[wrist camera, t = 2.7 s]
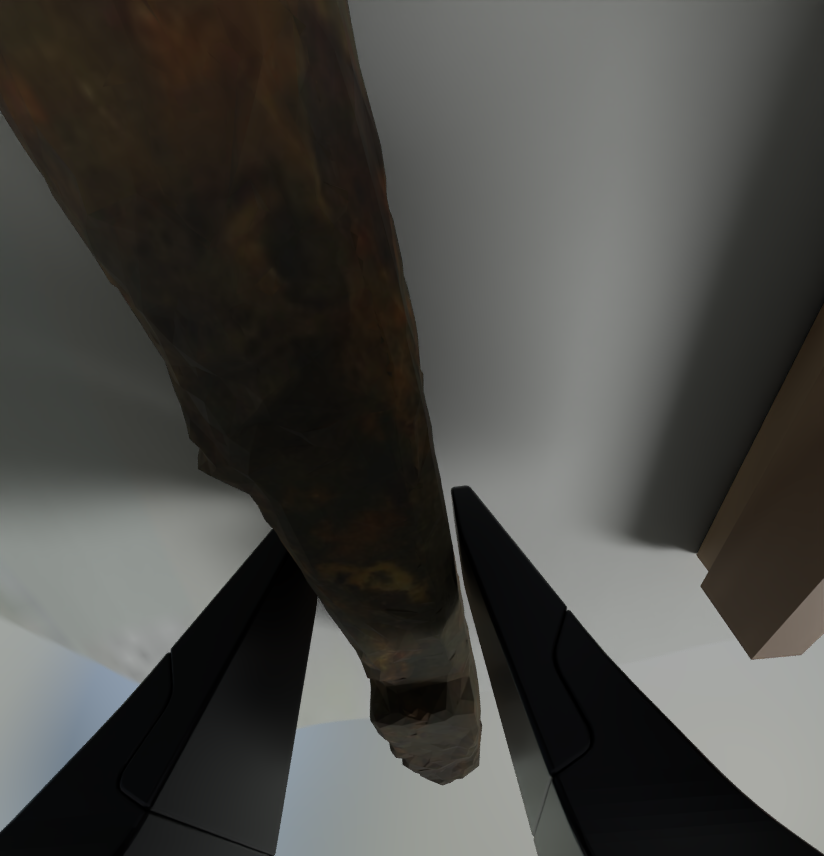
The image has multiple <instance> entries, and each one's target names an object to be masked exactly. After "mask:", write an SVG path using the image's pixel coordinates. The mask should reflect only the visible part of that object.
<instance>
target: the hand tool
mask: <svg viewBox="0 0 824 856" xmlns="http://www.w3.org/2000/svg"><path fill="white" fill-rule="evenodd" d="M0 111H1V112H2V114H3V115H4V117H5V119H6V120H7V122H8V124H9V125H10V127H11V128H12V130H13V132H14V133H15V135H16V137H17V138H18V140H19V141H20V143H21V145H22V146H23V148H24V149H25V151H26V152H27V154H28V155H29V157H30V158H31V159H32V161H33V162H34V164H35V165H36V167H37V168H38V169H39V171H40V172H41V174H42V175H43V177H44V178H45V180H46V182H47V184H48V186H49V188H50V191H51V193H52V195H53V196H54V198H55V199H56V201H57V202H58V204H59V205H60V207H61V208H62V210H63V211H64V213H65V214H66V216H67V217H68V219H69V220H70V222H71V223H72V225H73V226H74V227H75V229H76V230H77V232H78V233H79V235H80V236H81V238H82V239H83V241H84V242H85V244H86V245H87V247H88V248H89V250H90V251H91V252H92V254H93V255H94V257H95V258H96V260H97V262H98V263H99V265H100V267H101V268H102V270H103V271H104V273H105V275H106V276H107V278H108V280H109V281H110V283H111V284H112V285H114V286H115V287H117V288H118V289H119V291H120V292H121V294H122V295H123V297H124V298H125V300H126V301H127V303H128V305H129V306H130V308H131V309H132V311H133V312H134V314H135V315H136V317H137V318H138V320H139V321H140V323H141V325H142V326H143V328H144V329H145V331H146V333H147V334H148V336H149V338H150V339H151V341H152V342H153V344H154V346H155V347H156V349H157V350H158V352H159V353H160V355H161V356H162V358H163V359H164V361H165V363H166V366H167V369H168V372H169V375H170V378H171V381H172V384H173V387H174V390H175V393H176V395H177V397H178V400H179V402H180V404H181V408H182V411H183V414H184V418H185V421H186V425H187V429H188V434H189V438H190V439H191V440H192V441H193V442H194V443H195V444H196V445H197V446H198V447H199V454H198V469H199V470H201V471H203V472H204V473H206V474H208V475H210V476H212V477H214V478H216V479H219V480H221V481H223V482H225V483H227V484H229V485H231V486H233V487H235V488H238V489H240V490H242V491H244V492H246V493H248V494H250V496H251V497H252V498H253V500H254V501H255V502H256V504H257V505H258V507H259V509H260V511H261V513H262V515H263V517H264V519H265V520H266V522H267V523H268V524H269V525H270V526H271V527H272V528H273V529H274V531H275V532H276V533H277V535H278V537H279V538H280V540H281V542H282V543H283V545H284V546H285V548H286V549H287V551H288V552H289V553H290V555H291V556H292V558H293V559H294V561H295V562H296V563H297V565H298V566H299V568H300V569H301V571H302V573H303V575H304V576H305V578H306V580H307V582H308V584H309V585H310V586H311V588H312V589H313V590H314V592H315V593H316V594H317V596H318V597H319V599H320V600H321V602H322V604H323V605H324V607H325V608H326V610H327V612H328V613H329V615H330V616H331V617H332V619H333V620H334V621H335V623H336V624H337V625H338V627H339V628H340V629H341V631H342V632H343V634H344V635H345V637H346V638H347V639H348V641H349V642H350V644H351V645H352V646H353V647H354V649H355V650H356V652H357V654H358V656H359V658H360V660H361V662H362V665H363V667H364V670H365V673H366V675H367V678H370V684H371V699H370V720H371V722H372V723H373V725H374V727H375V728H376V730H377V732H378V733H379V734H380V735H381V736H382V737H383V738H384V739H385V740H387V741H388V742H389V743H390V749H391V751H392V753H393V754H394V756H395V757H396V758H402V762H403V765H404V766H406V767H407V768H409V769H410V770H412V771H413V772H415V773H419V774H420V776H422V777H424V778H426V779H428V780H430V781H433V782H435V783H438V784H440V785H445V784H448V783H451V782H452V781H454V780H456V779H461V778H464V777H465V776H466V775H468V774H469V773H470V772H471V771H473V770H474V769H475V768H477V767H478V766H479V758H480V741H481V731H482V723H481V720H480V714H481V710H480V696H479V685H478V678H477V671H476V666H475V661H474V656H473V652H472V648H471V643H470V637H469V631H468V626H467V623H466V620H465V616H464V606H463V600H462V595H461V590H460V581H459V576H458V574H457V569H456V562H455V556H454V551H453V545H452V540H451V535H450V529H449V523H448V517H447V512H446V506H445V500H444V495H443V490H442V485H441V478H440V473H439V469H438V464H437V460H436V455H435V450H434V444H433V435H432V426H431V422H430V417H429V413H428V409H427V405H426V400H425V396H424V392H423V373H422V371H421V369H420V359H419V346H418V334H417V328H416V322H415V317H414V313H413V309H412V305H411V300H410V296H409V292H408V288H407V284H406V281H405V278H404V275H403V265H402V258H401V254H400V249H399V244H398V240H397V235H396V231H395V226H394V221H393V218H392V215H391V213H390V210H389V206H388V201H387V193H386V175H385V168H384V162H383V156H382V150H381V144H380V141H379V137H378V133H377V129H376V126H375V122H374V118H373V115H372V111H371V107H370V103H369V100H368V96H367V92H366V88H365V85H364V81H363V77H362V74H361V70H360V66H359V61H358V56H357V50H356V45H355V40H354V35H353V29H352V24H351V18H350V12H349V7H348V1H347V0H0Z"/></svg>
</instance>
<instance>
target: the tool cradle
mask: <svg viewBox="0 0 824 856" xmlns="http://www.w3.org/2000/svg"><path fill="white" fill-rule="evenodd" d="M697 556H698V558H699V559H700V561H701V562H702V563H703V565H704V566H705V567H706V569H707V570H708V571H709V572H708V574H707V575H706V577H705V579H704V581H703V582H702V584H701V588H702V589H703V591H704V592H705V594H706V595H707V596H708V598H709V599H710V601H711V602H712V604H713V605H714V607H715V608H716V609H717V611H718V612H719V614H720V615H721V617H722V618H723V620H724V621H725V622H726V624H727V625H728V627H729V628H730V630H731V631H732V633H733V634H734V635H735V637H736V638H737V640H738V641H739V643H740V644H741V646H742V647H743V648H744V650H745V651H746V653H747V654H748V656H749V657H750V659H751V660H754V659H764V658H775V657H786V656H796V655H802V654H803V653H804V652H805V651H806V650H807V649H808V648H809V647H810V646H811V645H812V644H813V643H814V642H815V641H816V640H817V639H819V638H820V637H821V636H822V635H823V634H824V303H823V305H822V307H821V309H820V311H819V313H818V315H817V317H816V319H815V321H814V323H813V325H812V327H811V329H810V331H809V333H808V335H807V337H806V339H805V341H804V343H803V345H802V347H801V349H800V351H799V353H798V355H797V357H796V359H795V361H794V363H793V365H792V367H791V369H790V371H789V373H788V375H787V377H786V379H785V381H784V383H783V385H782V387H781V389H780V391H779V393H778V395H777V396H776V398H775V400H774V402H773V404H772V406H771V408H770V410H769V412H768V414H767V416H766V418H765V420H764V422H763V424H762V426H761V428H760V430H759V432H758V434H757V436H756V438H755V440H754V442H753V444H752V446H751V448H750V450H749V452H748V454H747V456H746V458H745V460H744V462H743V464H742V466H741V468H740V470H739V472H738V474H737V476H736V478H735V480H734V482H733V484H732V486H731V488H730V490H729V492H728V493H727V495H726V497H725V499H724V501H723V503H722V505H721V507H720V509H719V511H718V513H717V515H716V517H715V519H714V521H713V523H712V525H711V527H710V529H709V531H708V533H707V535H706V537H705V539H704V541H703V543H702V545H701V547H700V549H699V551H698V553H697Z"/></svg>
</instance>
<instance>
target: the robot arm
mask: <svg viewBox="0 0 824 856" xmlns="http://www.w3.org/2000/svg"><path fill="white" fill-rule="evenodd" d="M451 497H452V505H453V514H454V521H455V528H456V535H457V541H458V548H459V555H460V562H461V568H462V575H463V581H464V586H465V590H466V594H467V598H468V602H469V605H470V609H471V612H472V616H473V620H474V623H475V627H476V631H477V634H478V638H479V642H480V645H481V649H482V653H483V656H484V660H485V664H486V667H487V671H488V675H489V678H490V682H491V686H492V689H493V693H494V697H495V700H496V704H497V708H498V711H499V715H500V718H501V722H502V726H503V729H504V733H505V737H506V741H507V744H508V748H509V751H510V755H511V759H512V762H513V766H514V770H515V773H516V777H517V781H518V784H519V788H520V791H521V795H522V799H523V803H524V806H525V810H526V814H527V817H528V821H529V825H530V828H531V832H532V835H533V836H534V843H535V846H536V850H537V854H538V856H824V854H823V853H821V852H820V851H818V850H817V849H816V848H814V847H813V846H811V845H810V844H809V843H807V842H806V841H804V840H803V839H801V838H800V837H799V836H797V835H796V834H795V833H793V832H792V831H790V830H789V829H788V828H786V827H785V826H784V825H782V824H781V823H779V822H778V821H776V819H774V818H773V817H772V816H770V815H769V814H768V813H767V812H765V811H764V810H763V809H762V808H760V807H759V806H758V805H757V804H755V802H753V801H752V800H751V799H750V798H749V797H748V796H746V795H745V794H744V793H743V792H742V791H741V790H740V789H739V788H737V787H736V786H735V785H734V784H733V783H732V782H731V781H730V780H729V779H728V778H727V777H726V776H725V775H724V774H723V773H721V771H720V770H718V768H717V767H716V766H715V765H714V764H713V763H711V761H709V759H708V758H706V756H705V755H703V753H702V752H701V751H700V750H699V749H698V748H697V747H696V746H695V745H694V744H693V743H692V742H691V741H690V740H689V739H688V738H687V737H686V736H685V735H684V734H683V733H682V732H681V731H680V730H679V729H678V728H677V727H676V726H675V725H674V724H673V723H672V722H671V721H670V720H669V719H668V718H667V717H666V716H665V715H664V714H663V713H662V712H661V711H660V709H659V708H658V707H657V706H656V705H655V704H654V703H652V701H651V700H650V699H649V698H648V697H646V695H645V694H644V693H643V692H642V691H641V690H640V689H639V688H638V687H637V686H636V685H635V684H634V683H633V682H632V681H631V680H630V679H629V678H628V676H627V675H626V674H625V673H624V672H623V671H622V670H621V669H620V668H619V667H618V666H617V665H616V664H615V663H614V662H613V661H612V659H611V658H610V657H609V656H608V655H607V654H606V653H605V652H604V650H603V649H602V648H601V647H600V646H599V645H598V643H597V642H596V641H595V640H594V639H593V638H592V636H591V635H590V634H589V633H588V632H587V631H586V629H585V628H584V627H583V626H582V624H581V623H580V622H579V621H578V620H577V618H576V617H575V616H574V615H573V613H572V612H571V611H570V610H567V606H566V605H565V604H564V602H563V601H562V600H561V599H560V598H559V596H558V595H557V594H556V593H555V591H554V590H553V589H552V588H551V586H550V585H549V584H548V583H547V581H546V580H545V579H544V578H543V576H542V575H541V574H540V573H539V572H538V570H537V569H536V568H535V567H534V565H533V564H532V563H531V562H530V560H529V559H528V558H527V557H526V555H525V554H524V553H523V552H522V550H521V549H520V548H519V547H518V546H517V544H516V543H515V542H514V541H513V539H512V538H511V537H510V536H509V534H508V533H507V532H506V531H505V529H504V528H503V527H502V526H501V524H500V523H499V522H498V521H497V519H496V518H495V517H494V516H493V515H492V513H491V512H490V511H489V510H488V508H487V507H486V506H485V505H484V503H483V502H482V501H481V500H480V498H479V497H478V496H477V495H476V493H475V492H474V491H473V490H472V489H471V487H469V486H458V487H453V488H452V489H451ZM317 597H318V596H317V594H316V593H315V592H314V590H313V589H312V588H311V586H310V585H309V584H308V582H307V580H306V578H305V576H304V575H303V573H302V571H301V569H300V568H299V566H298V565H297V563H296V562H295V561H294V559H293V558H292V556H291V555H290V553H289V552H288V551H287V549H286V548H285V546H284V545H283V543H282V542H281V540H280V538H279V537H278V535H277V533H276V532H275V531H274V529H272V530H271V531H270V532H269V534H268V535H267V536H266V537H265V538H264V540H263V541H262V542H261V543H260V544H259V545H258V547H257V548H256V549H255V550H254V551H253V552H252V554H251V555H250V556H249V557H248V558H247V560H246V561H245V562H244V563H243V564H242V565H241V567H240V568H239V569H238V570H237V571H236V573H235V574H234V575H233V576H232V577H231V578H230V580H229V581H228V582H227V583H226V584H225V586H224V587H223V588H222V589H221V590H220V591H219V593H218V594H217V595H216V596H215V597H214V598H213V600H212V601H211V602H210V603H209V604H208V606H207V607H206V608H205V609H204V610H203V611H202V613H201V614H200V615H199V616H198V617H197V619H196V620H195V621H194V622H193V623H192V624H191V626H190V627H189V628H188V629H187V630H186V632H185V633H184V634H183V635H182V636H181V637H180V639H179V640H178V641H177V642H176V643H175V645H174V646H173V647H172V648H171V653H170V652H169V653H167V654H166V655H165V656H164V657H163V658H162V660H161V661H160V662H159V663H158V664H157V666H156V667H155V668H154V669H153V670H152V671H151V673H150V674H149V675H148V676H147V677H146V678H145V679H144V681H143V682H142V683H141V684H140V685H139V686H138V687H137V689H136V690H135V691H134V692H133V693H132V694H131V696H130V697H129V698H128V699H127V700H126V701H125V702H124V704H122V705H121V707H120V708H119V709H118V710H117V711H116V712H115V713H114V714H113V715H112V716H111V717H110V718H109V720H107V722H106V723H105V724H104V725H103V726H102V727H101V728H100V729H99V730H98V731H97V732H96V733H95V735H94V736H92V738H91V739H90V740H89V741H88V742H87V743H86V744H85V745H84V746H83V747H82V748H81V749H80V750H79V751H78V752H77V753H76V754H75V755H74V756H73V757H72V758H71V759H70V760H69V761H68V763H67V764H66V765H65V766H64V767H63V768H62V769H61V770H60V771H59V772H58V773H57V774H56V775H55V776H54V777H53V778H52V779H51V780H50V781H49V782H48V784H46V785H45V787H44V788H43V789H42V790H41V791H40V792H39V793H38V794H37V795H36V796H35V797H34V798H33V799H32V800H31V801H30V802H29V803H28V804H27V805H26V806H25V807H24V808H23V809H22V810H21V811H20V812H19V814H18V815H17V816H16V817H15V818H14V819H13V820H12V821H11V822H10V823H9V824H8V825H7V826H6V827H5V828H4V829H3V830H2V831H1V832H0V856H274V855H275V853H276V847H277V841H278V835H279V829H280V823H281V817H282V811H283V805H284V799H285V792H286V787H287V781H288V774H289V769H290V763H291V757H292V751H293V745H294V739H295V733H296V727H297V721H298V715H299V709H300V703H301V697H302V691H303V685H304V679H305V673H306V667H307V661H308V655H309V649H310V643H311V637H312V631H313V625H314V619H315V613H316V606H317Z"/></svg>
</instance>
